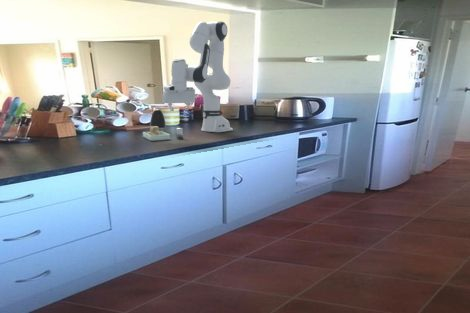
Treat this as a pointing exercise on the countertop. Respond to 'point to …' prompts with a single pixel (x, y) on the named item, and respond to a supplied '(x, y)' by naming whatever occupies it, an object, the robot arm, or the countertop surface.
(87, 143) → the countertop surface
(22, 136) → the countertop surface
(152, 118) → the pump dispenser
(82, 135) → the countertop surface
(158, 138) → the tray
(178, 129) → the metal cylinder
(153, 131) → the beech block
